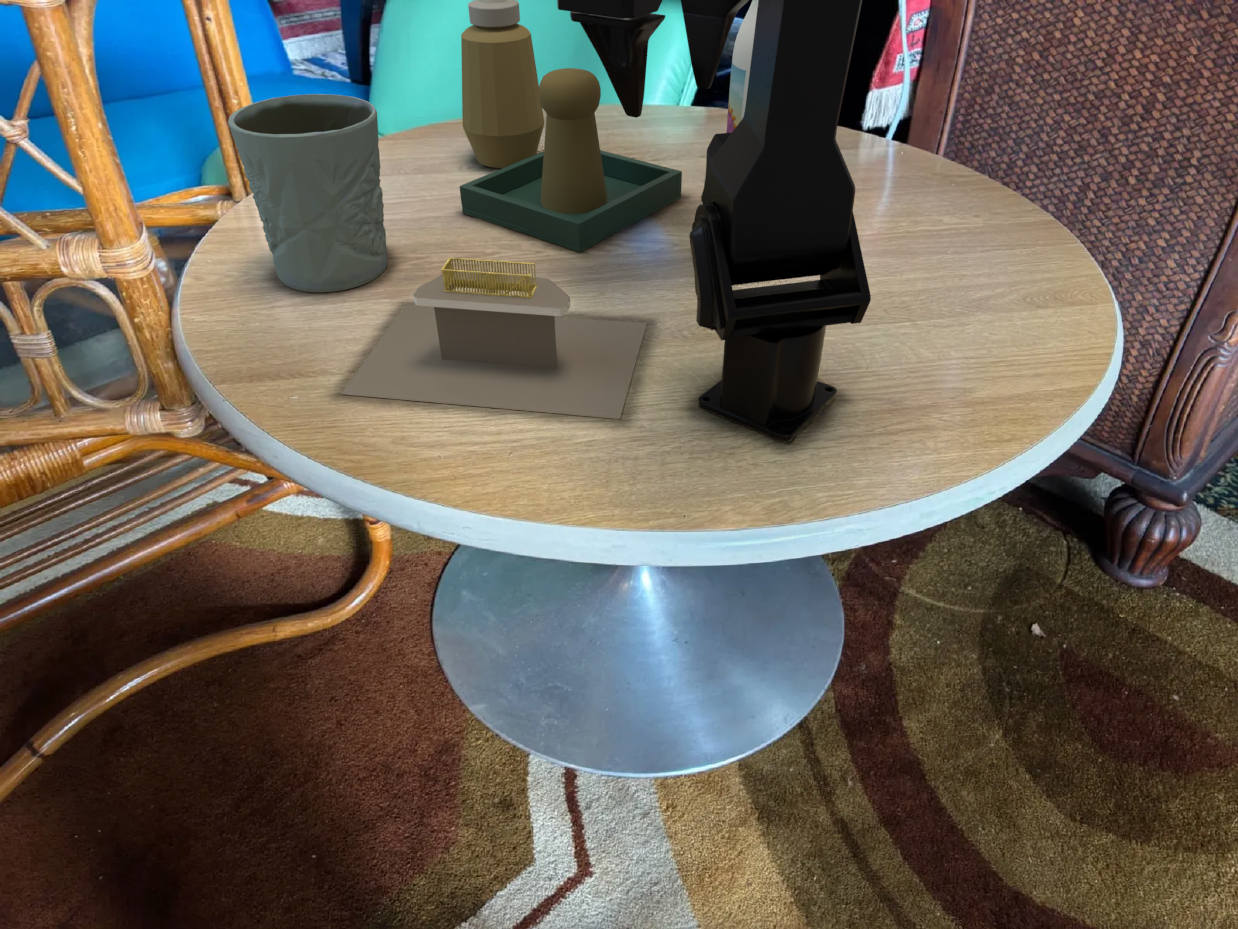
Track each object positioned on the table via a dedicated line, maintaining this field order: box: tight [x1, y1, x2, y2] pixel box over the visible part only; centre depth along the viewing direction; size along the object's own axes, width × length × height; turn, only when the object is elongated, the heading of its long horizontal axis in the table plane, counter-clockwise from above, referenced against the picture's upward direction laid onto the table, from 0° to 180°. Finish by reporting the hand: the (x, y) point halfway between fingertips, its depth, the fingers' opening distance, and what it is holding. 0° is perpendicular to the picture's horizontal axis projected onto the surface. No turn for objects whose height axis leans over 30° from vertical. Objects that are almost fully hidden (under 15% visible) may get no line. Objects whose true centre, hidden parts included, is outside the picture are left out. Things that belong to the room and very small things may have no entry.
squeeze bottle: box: [460, 0, 545, 169], centre depth 85 cm, size 8×8×18 cm
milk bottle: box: [725, 0, 758, 133], centre depth 79 cm, size 8×8×20 cm
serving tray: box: [459, 149, 683, 253], centre depth 80 cm, size 15×14×2 cm
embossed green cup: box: [227, 93, 389, 293], centre depth 68 cm, size 10×10×12 cm
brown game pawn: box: [538, 67, 607, 214], centre depth 77 cm, size 6×6×11 cm
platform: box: [340, 257, 647, 420], centre depth 58 cm, size 12×18×7 cm, turn 81°
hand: (670, 101), depth 67 cm, fingers open, 9 cm apart
